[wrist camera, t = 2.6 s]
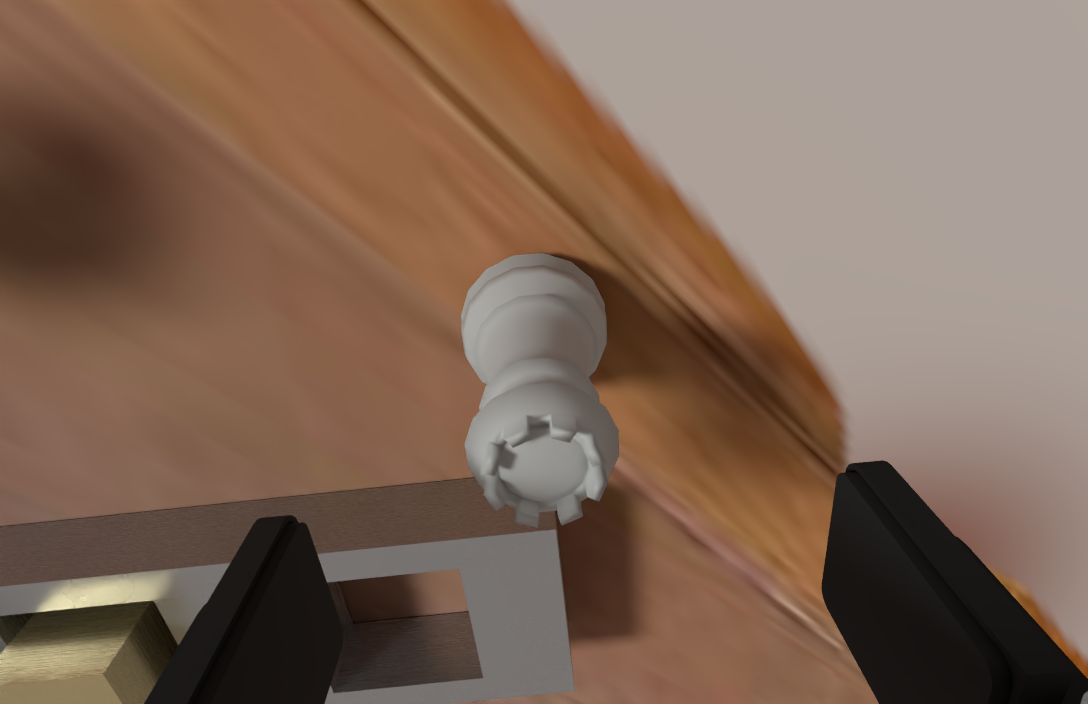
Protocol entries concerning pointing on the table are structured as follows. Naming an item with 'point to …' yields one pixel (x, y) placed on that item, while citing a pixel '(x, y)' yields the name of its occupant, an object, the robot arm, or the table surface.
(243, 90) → the table surface
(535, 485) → the rook chess piece
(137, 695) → the tan wooden cube
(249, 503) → the gray slotted board
